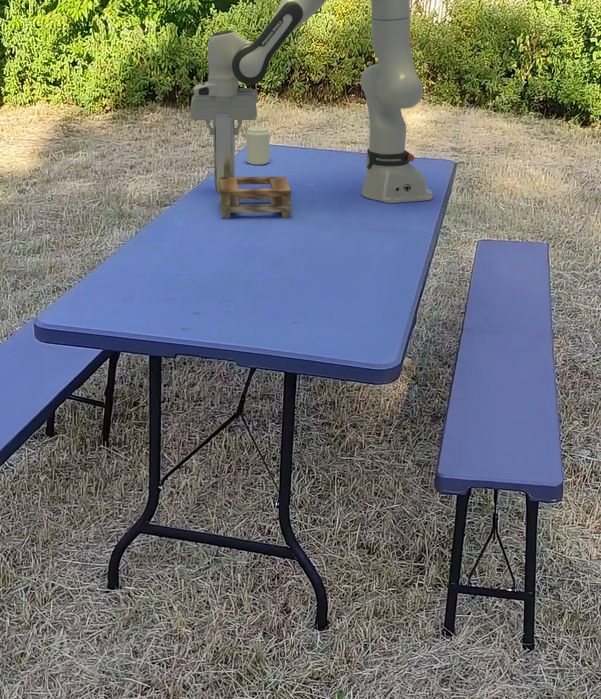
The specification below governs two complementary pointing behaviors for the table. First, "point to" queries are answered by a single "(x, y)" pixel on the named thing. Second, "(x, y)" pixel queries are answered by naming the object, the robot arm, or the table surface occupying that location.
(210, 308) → the table surface
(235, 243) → the table surface
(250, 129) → the beverage can
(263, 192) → the frame
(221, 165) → the silver metal cylinder
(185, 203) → the table surface
